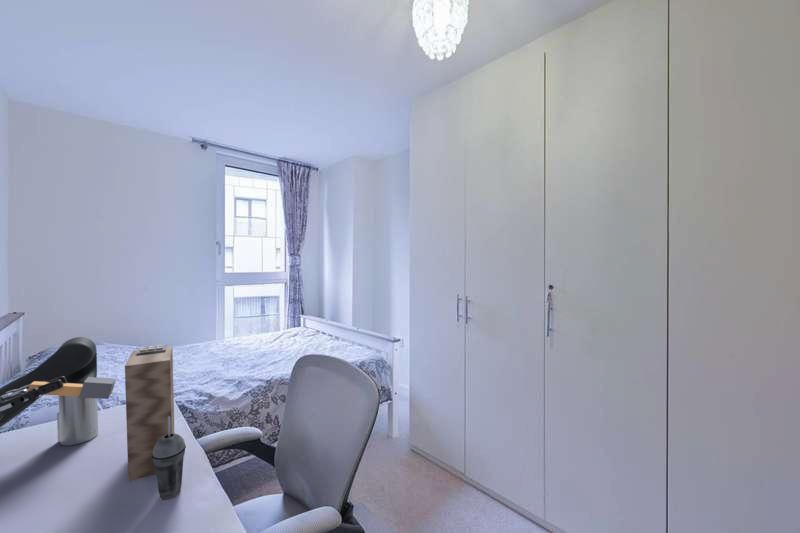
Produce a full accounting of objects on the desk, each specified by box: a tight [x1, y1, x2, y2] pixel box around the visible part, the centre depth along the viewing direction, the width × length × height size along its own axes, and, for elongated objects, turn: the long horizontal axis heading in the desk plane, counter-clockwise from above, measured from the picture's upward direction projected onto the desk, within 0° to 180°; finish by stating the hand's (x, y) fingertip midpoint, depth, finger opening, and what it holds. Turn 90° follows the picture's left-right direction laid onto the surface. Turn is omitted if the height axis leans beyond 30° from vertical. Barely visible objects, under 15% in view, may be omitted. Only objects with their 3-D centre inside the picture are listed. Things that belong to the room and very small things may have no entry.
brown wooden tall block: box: [124, 344, 176, 483], centre depth 101 cm, size 10×16×33 cm, turn 32°
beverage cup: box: [152, 416, 187, 501], centre depth 88 cm, size 7×7×20 cm
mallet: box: [29, 377, 117, 400], centre depth 89 cm, size 16×4×4 cm, turn 121°
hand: (63, 381), depth 88 cm, fingers closed on mallet, 2 cm apart
